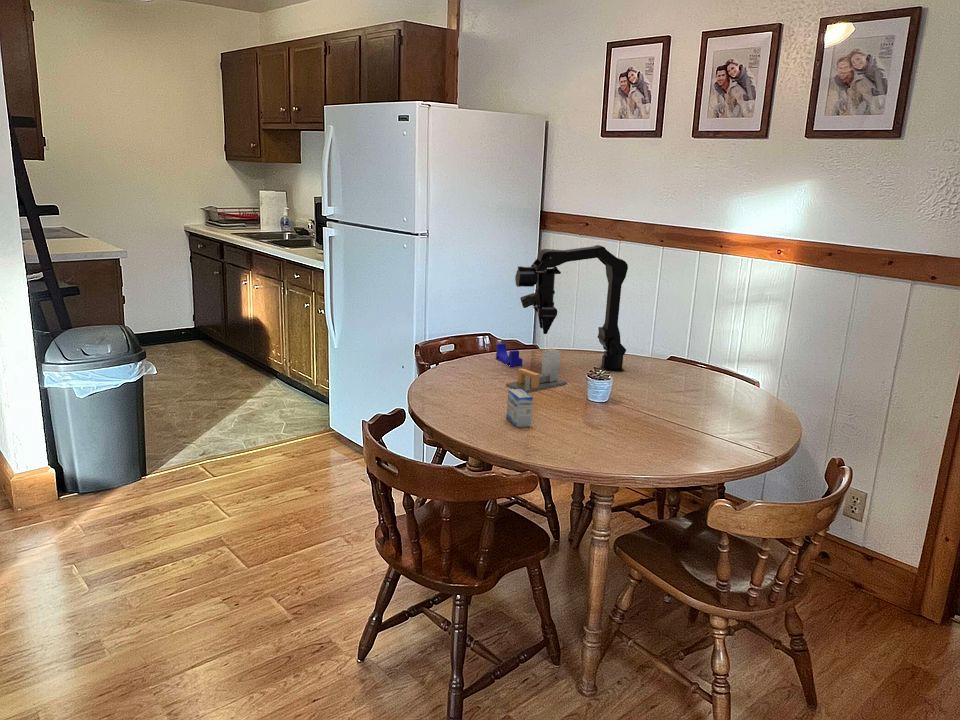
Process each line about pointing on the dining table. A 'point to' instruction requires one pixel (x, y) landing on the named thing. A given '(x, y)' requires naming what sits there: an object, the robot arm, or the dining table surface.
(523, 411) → the medicine box
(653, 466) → the dining table surface
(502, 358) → the cable clip
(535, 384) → the lug
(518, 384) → the grey flat plate
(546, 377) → the latch
